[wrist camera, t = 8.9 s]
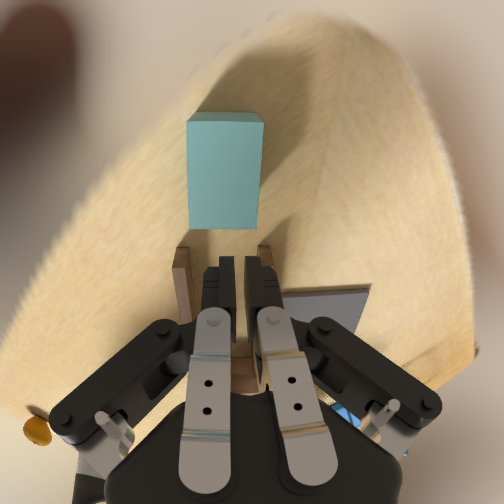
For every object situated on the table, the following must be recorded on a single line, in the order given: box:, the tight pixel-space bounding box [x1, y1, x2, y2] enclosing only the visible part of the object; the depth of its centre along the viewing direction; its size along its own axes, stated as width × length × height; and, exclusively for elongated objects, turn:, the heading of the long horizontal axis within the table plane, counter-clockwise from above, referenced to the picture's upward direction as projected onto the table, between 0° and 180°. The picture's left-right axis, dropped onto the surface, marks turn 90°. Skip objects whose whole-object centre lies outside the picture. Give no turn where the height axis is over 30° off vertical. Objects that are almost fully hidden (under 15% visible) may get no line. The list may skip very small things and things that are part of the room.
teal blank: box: [187, 112, 264, 229], centre depth 22 cm, size 5×8×6 cm, turn 177°
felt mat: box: [281, 288, 369, 334], centre depth 37 cm, size 11×11×1 cm
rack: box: [172, 246, 274, 396], centre depth 33 cm, size 9×20×6 cm, turn 178°
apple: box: [23, 416, 52, 446], centre depth 52 cm, size 9×9×9 cm
